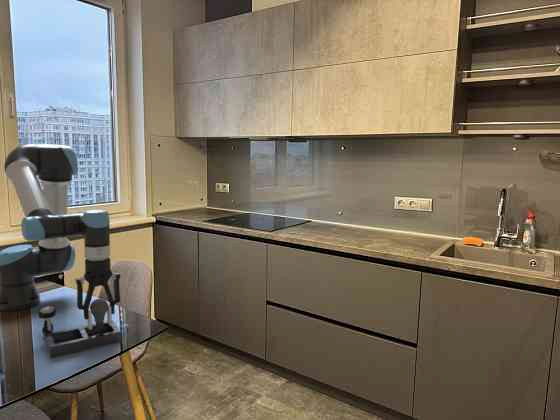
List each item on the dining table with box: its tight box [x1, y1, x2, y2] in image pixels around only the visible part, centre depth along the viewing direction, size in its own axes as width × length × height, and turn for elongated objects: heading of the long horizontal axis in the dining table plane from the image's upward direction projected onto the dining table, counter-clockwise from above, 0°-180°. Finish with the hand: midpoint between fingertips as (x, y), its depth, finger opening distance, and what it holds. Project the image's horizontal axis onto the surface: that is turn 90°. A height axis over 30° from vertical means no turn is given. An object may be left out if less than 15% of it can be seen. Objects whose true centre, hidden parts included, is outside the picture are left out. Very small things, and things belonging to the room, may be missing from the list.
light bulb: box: [89, 298, 109, 328], centre depth 134 cm, size 6×6×10 cm
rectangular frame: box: [44, 320, 122, 359], centre depth 132 cm, size 11×20×4 cm, turn 126°
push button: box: [37, 306, 57, 339], centre depth 135 cm, size 7×5×10 cm
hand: (99, 325), depth 134 cm, fingers closed on light bulb, 5 cm apart
